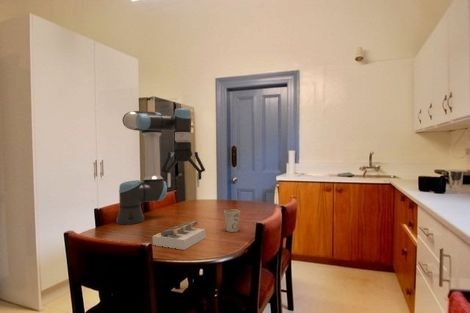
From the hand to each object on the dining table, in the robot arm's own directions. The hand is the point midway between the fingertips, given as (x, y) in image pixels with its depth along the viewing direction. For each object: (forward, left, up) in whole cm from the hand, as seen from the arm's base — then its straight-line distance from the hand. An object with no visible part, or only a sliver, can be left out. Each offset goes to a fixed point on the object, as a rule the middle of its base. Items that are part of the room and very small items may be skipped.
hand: (183, 186), depth 138 cm
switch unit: (+2, -6, -24) cm, 25 cm away
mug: (+15, +20, -24) cm, 35 cm away
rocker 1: (+2, -12, -18) cm, 22 cm away
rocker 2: (+2, -6, -18) cm, 19 cm away
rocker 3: (+2, 0, -18) cm, 18 cm away
